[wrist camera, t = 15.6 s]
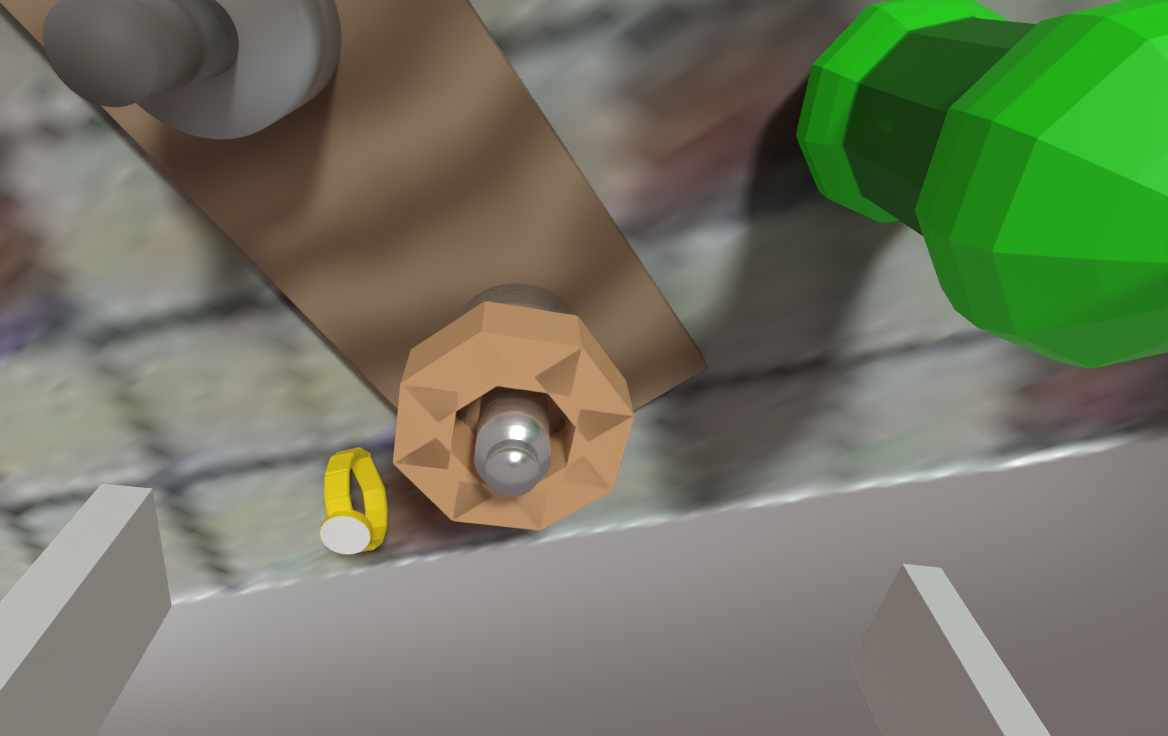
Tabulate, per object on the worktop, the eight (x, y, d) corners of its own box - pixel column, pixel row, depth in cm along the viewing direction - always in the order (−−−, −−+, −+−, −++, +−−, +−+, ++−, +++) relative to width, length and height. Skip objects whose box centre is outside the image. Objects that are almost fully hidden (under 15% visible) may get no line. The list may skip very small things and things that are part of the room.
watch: (329, 437, 43) (299, 495, 38) (373, 428, 43) (348, 485, 37) (362, 515, 45) (338, 579, 40) (404, 506, 45) (385, 570, 40)
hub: (422, 330, 38) (384, 460, 28) (532, 258, 36) (532, 368, 26) (503, 420, 41) (494, 566, 31) (606, 358, 39) (632, 490, 29)
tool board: (-4, -27, 30) (-372, -25, 18) (273, -297, 26) (50, -527, 14) (484, 482, 45) (467, 672, 33) (702, 355, 41) (774, 515, 29)
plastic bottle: (841, -59, 31) (1548, -129, 10) (1020, 43, 34) (1891, 171, 12) (731, 152, 36) (1047, 435, 14) (898, 228, 38) (1381, 567, 17)
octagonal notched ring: (398, 473, 35) (388, 513, 32) (416, 290, 30) (406, 320, 28) (594, 496, 36) (599, 536, 34) (641, 325, 32) (651, 357, 29)
